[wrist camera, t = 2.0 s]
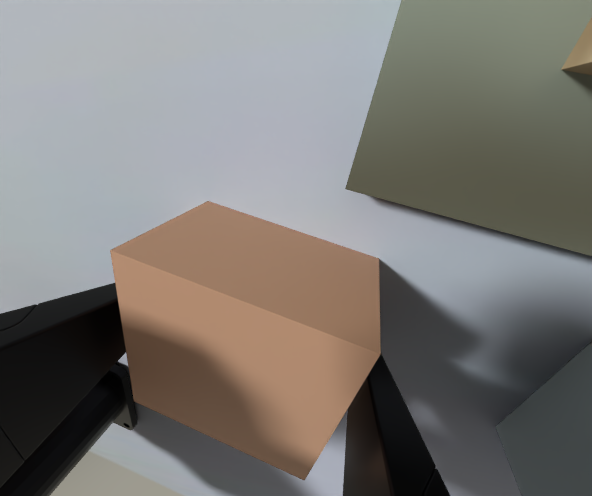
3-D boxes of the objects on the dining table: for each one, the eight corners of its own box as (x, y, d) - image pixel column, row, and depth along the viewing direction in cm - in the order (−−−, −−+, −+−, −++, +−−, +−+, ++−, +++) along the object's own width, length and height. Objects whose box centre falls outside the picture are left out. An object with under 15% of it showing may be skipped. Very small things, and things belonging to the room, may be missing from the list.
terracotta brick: (326, 369, 11) (304, 480, 8) (203, 319, 12) (133, 401, 9) (378, 255, 8) (380, 353, 5) (211, 199, 9) (110, 250, 6)
